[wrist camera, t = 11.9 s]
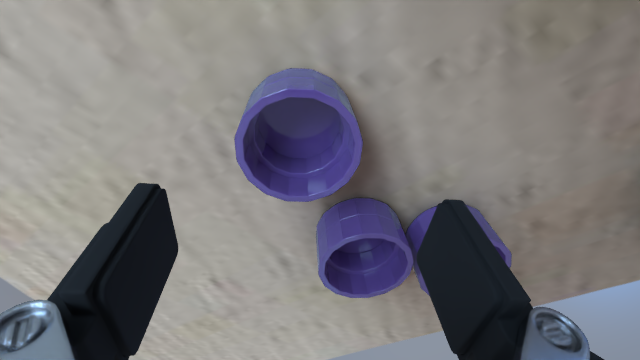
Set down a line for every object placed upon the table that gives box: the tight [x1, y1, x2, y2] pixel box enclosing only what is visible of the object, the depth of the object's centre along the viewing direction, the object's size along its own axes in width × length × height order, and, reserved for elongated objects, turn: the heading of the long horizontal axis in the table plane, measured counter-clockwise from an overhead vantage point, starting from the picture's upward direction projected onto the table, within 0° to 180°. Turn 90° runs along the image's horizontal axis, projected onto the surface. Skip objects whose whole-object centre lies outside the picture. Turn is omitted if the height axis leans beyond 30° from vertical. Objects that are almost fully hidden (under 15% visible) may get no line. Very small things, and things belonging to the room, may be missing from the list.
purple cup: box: [405, 205, 511, 296], centre depth 25 cm, size 7×7×4 cm
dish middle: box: [316, 198, 414, 298], centre depth 24 cm, size 7×7×4 cm
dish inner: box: [235, 68, 363, 202], centre depth 19 cm, size 7×7×4 cm
